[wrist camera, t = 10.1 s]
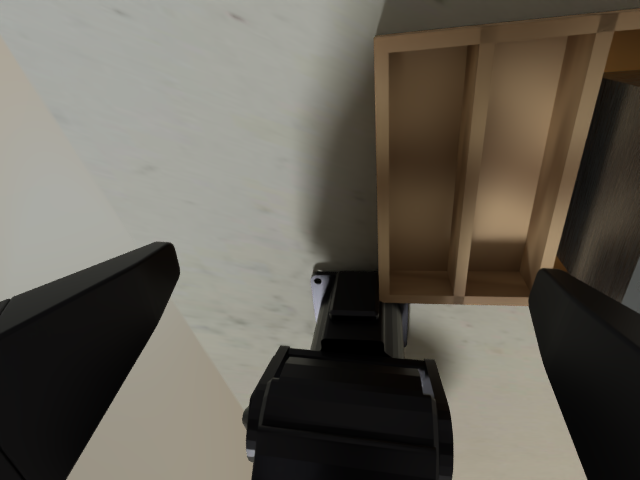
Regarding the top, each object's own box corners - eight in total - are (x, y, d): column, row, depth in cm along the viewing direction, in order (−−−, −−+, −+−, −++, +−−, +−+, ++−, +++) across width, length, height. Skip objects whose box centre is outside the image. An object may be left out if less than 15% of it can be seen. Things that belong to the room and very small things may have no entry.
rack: (600, 275, 22) (629, 309, 20) (379, 273, 25) (379, 303, 22) (693, 2, 16) (756, -2, 13) (375, 35, 18) (373, 38, 15)
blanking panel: (594, 243, 21) (677, 332, 15) (547, 243, 21) (610, 330, 15) (648, 69, 16) (798, 96, 10) (588, 73, 17) (699, 102, 11)
